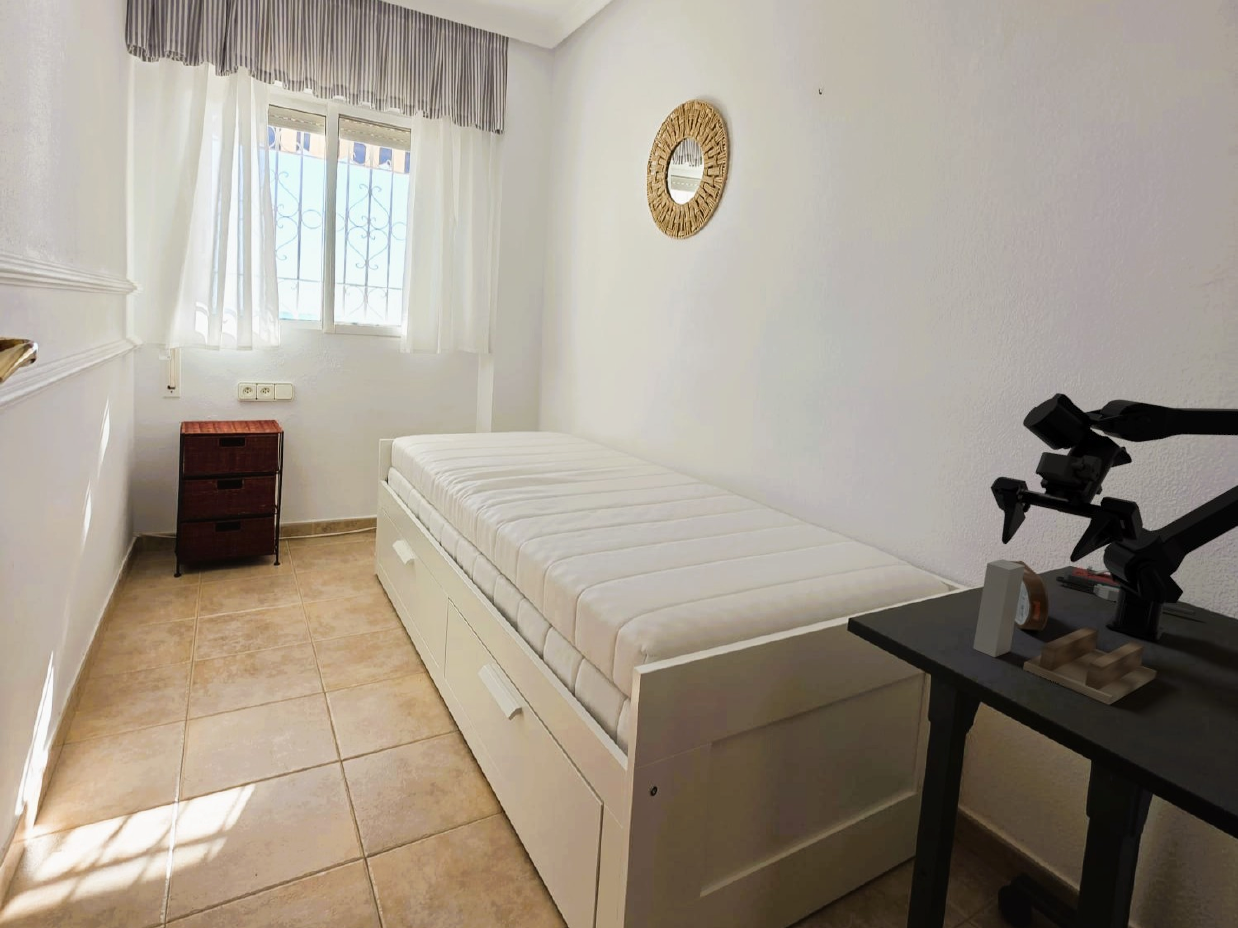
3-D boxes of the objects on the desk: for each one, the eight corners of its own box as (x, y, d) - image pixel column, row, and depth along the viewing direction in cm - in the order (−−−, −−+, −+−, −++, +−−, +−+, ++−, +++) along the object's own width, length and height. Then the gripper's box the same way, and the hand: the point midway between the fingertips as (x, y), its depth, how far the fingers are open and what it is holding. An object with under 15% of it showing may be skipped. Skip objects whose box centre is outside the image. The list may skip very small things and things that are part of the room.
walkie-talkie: (1051, 588, 125) (1193, 623, 112) (1056, 565, 124) (1199, 597, 111) (1061, 578, 131) (1196, 610, 118) (1065, 555, 131) (1201, 585, 118)
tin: (1045, 640, 101) (1055, 585, 99) (1022, 637, 102) (1032, 583, 100) (1010, 602, 116) (1018, 554, 114) (990, 600, 116) (998, 552, 115)
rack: (1071, 647, 99) (1076, 621, 98) (1154, 677, 91) (1160, 649, 90) (1023, 669, 91) (1028, 640, 90) (1109, 704, 83) (1115, 673, 82)
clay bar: (988, 642, 99) (1002, 559, 96) (1009, 651, 96) (1024, 565, 94) (973, 648, 97) (987, 563, 94) (994, 657, 94) (1009, 569, 92)
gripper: (1006, 424, 106) (957, 501, 102) (1150, 443, 91) (1100, 534, 87) (1023, 471, 112) (977, 545, 107) (1161, 495, 97) (1115, 583, 93)
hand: (1036, 551), depth 98 cm, fingers open, 9 cm apart
